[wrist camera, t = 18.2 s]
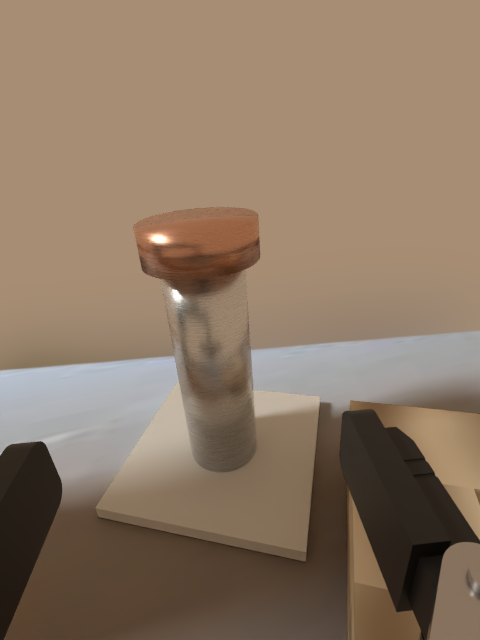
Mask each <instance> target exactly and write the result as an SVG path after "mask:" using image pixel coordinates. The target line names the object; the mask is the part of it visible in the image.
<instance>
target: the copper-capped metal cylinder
mask: <svg viewBox="0 0 480 640" xmlns="http://www.w3.org/2000/svg"><path fill="white" fill-rule="evenodd" d="M133 228H134V233H135V237H136V243H137V248H138V253H139V258H140V262H141V267H142V270H143V272H144V273H146V274H147V275H149V276H152V277H155V278H159V279H160V280H161V285H162V290H163V296H164V302H165V307H166V313H167V318H168V324H169V329H170V335H171V340H172V346H173V351H174V357H175V362H176V368H177V373H178V379H179V384H180V390H181V395H182V401H183V406H184V412H185V417H186V423H187V428H188V434H189V440H190V445H191V451H192V455H193V458H194V460H195V461H196V463H197V464H198V465H199V466H201V467H202V468H204V469H206V470H209V471H212V472H230V471H234V470H237V469H239V468H241V467H243V466H244V465H246V464H247V463H248V462H249V461H250V460H251V459H252V458H253V456H254V455H255V452H256V449H257V435H256V420H255V405H254V390H253V375H252V360H251V346H250V332H249V318H248V317H249V316H248V301H247V286H246V271H245V269H247V268H249V267H251V266H252V265H254V264H255V263H256V262H257V261H258V260H259V259H260V240H259V219H258V214H257V213H256V212H255V211H252V210H248V209H243V208H231V207H230V208H229V207H215V208H214V207H212V208H197V209H188V210H180V211H174V212H169V213H163V214H159V215H155V216H152V217H149V218H145V219H143V220H141V221H139V222H137V223H136V224H135V225H134V227H133Z"/></svg>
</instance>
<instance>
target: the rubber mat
mask: <svg viewBox="0 0 480 640" xmlns="http://www.w3.org/2000/svg"><path fill="white" fill-rule="evenodd" d="M254 405H255V420H256V435H257V449H256V452H255V455H254V456H253V458H252V459H251V460H250V461H249V462H248V463H247V464H246V465H244V466H243V467H241V468H239V469H237V470H234V471H230V472H212V471H209V470H206V469H204V468H202V467H201V466H199V465H198V464H197V463H196V461H195V460H194V458H193V455H192V451H191V445H190V440H189V434H188V428H187V423H186V417H185V412H184V406H183V401H182V395H181V390H180V384H179V382H177V383H176V385H175V386H174V388H173V389H172V391H171V392H170V394H169V395H168V397H167V398H166V400H165V401H164V403H163V404H162V406H161V408H160V409H159V411H158V412H157V414H156V415H155V417H154V418H153V420H152V421H151V423H150V424H149V426H148V427H147V429H146V431H145V432H144V434H143V435H142V437H141V438H140V440H139V441H138V443H137V444H136V446H135V447H134V449H133V450H132V452H131V454H130V455H129V457H128V458H127V460H126V461H125V463H124V464H123V466H122V467H121V469H120V470H119V472H118V473H117V475H116V477H115V478H114V480H113V481H112V483H111V484H110V486H109V487H108V489H107V490H106V492H105V493H104V495H103V496H102V498H101V499H100V501H99V503H98V504H97V506H96V507H95V510H96V512H97V515H98V517H101V518H105V519H110V520H115V521H119V522H124V523H129V524H133V525H138V526H142V527H147V528H152V529H156V530H161V531H166V532H170V533H175V534H179V535H184V536H189V537H193V538H198V539H203V540H207V541H212V542H216V543H221V544H226V545H230V546H235V547H240V548H244V549H249V550H253V551H258V552H263V553H267V554H272V555H277V556H281V557H286V558H291V559H295V560H300V561H304V562H306V554H307V542H308V531H309V520H310V509H311V497H312V486H313V475H314V464H315V453H316V441H317V430H318V419H319V408H320V397H317V396H307V395H298V394H288V393H278V392H268V391H259V390H254Z"/></svg>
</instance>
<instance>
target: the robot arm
mask: <svg viewBox="0 0 480 640" xmlns="http://www.w3.org/2000/svg"><path fill="white" fill-rule="evenodd" d="M340 462H341V467H342V471H343V475H344V478H345V480H346V483H347V485H348V488H349V490H350V493H351V496H352V498H353V501H354V503H355V506H356V509H357V511H358V514H359V516H360V519H361V522H362V524H363V527H364V529H365V532H366V534H367V537H368V540H369V542H370V545H371V547H372V550H373V553H374V555H375V558H376V560H377V563H378V565H379V568H380V571H381V573H382V576H383V578H384V581H385V584H386V586H387V589H388V591H389V594H390V597H391V599H392V602H393V604H394V607H395V609H396V612H403V611H412V610H413V613H414V615H415V617H416V620H417V622H418V625H419V627H420V629H421V630H420V633H419V639H418V640H480V540H479V538H478V537H477V536H476V534H475V533H474V531H473V530H472V528H471V527H470V525H469V524H468V522H467V521H466V519H465V517H464V516H463V514H462V513H461V511H460V510H459V508H458V507H457V505H456V504H455V502H454V501H453V499H452V498H451V496H450V495H449V493H448V492H447V490H446V489H445V487H444V486H443V484H442V483H441V481H440V480H439V478H438V477H436V476H435V472H434V471H433V469H432V468H431V466H430V465H429V463H428V462H426V460H425V457H424V455H423V454H422V452H421V451H420V449H419V448H418V446H417V445H416V443H415V442H414V440H412V439H411V438H410V437H409V436H407V435H406V434H405V433H404V432H402V431H401V430H400V429H399V428H397V427H387V428H385V427H384V425H383V424H382V422H381V420H380V419H379V417H378V415H377V414H376V412H375V411H374V410H373V409H363V410H354V411H345V412H344V413H343V416H342V428H341V441H340ZM61 497H62V483H61V479H60V477H59V475H58V472H57V470H56V468H55V465H54V463H53V461H52V458H51V456H50V454H49V451H48V449H47V447H46V445H45V444H44V443H43V442H41V441H40V442H29V443H20V444H11V445H9V446H8V447H6V449H5V450H4V451H3V453H2V454H1V456H0V640H4V638H5V635H6V633H7V630H8V628H9V625H10V623H11V621H12V618H13V616H14V613H15V611H16V609H17V606H18V604H19V601H20V599H21V597H22V594H23V592H24V589H25V587H26V585H27V582H28V580H29V577H30V575H31V573H32V570H33V568H34V565H35V563H36V561H37V558H38V556H39V553H40V551H41V548H42V546H43V544H44V541H45V539H46V536H47V534H48V532H49V529H50V527H51V524H52V522H53V520H54V517H55V515H56V512H57V510H58V508H59V505H60V502H61Z"/></svg>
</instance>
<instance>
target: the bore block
mask: <svg viewBox="0 0 480 640" xmlns="http://www.w3.org/2000/svg"><path fill="white" fill-rule="evenodd" d="M363 409H373V410H374V411H375V412H376V414H377V415H378V417H379V419H380V420H381V422H382V424H383V425H384V427H385V428H387V427H397V428H399V429H400V430H401V431H402V432H404V433H405V434H406V435H407V436H409V437H410V438H411V439H412V440H414V442H415V443H416V445H417V446H418V448H419V449H420V451H421V452H422V454H423V455H424V457H425V460H426V462H428V463H429V465H430V466H431V468H432V469H433V471H434V472H435V476H436V477H438V478H439V480H440V481H441V483H442V484H443V486H444V487H445V489H446V490H447V492H448V493H449V495H450V496H451V498H452V499H453V501H454V502H455V504H456V505H457V507H458V508H459V510H460V511H461V513H462V514H463V516H464V517H465V519H466V521H467V522H468V524H469V525H470V527H471V528H472V530H473V531H474V533H475V534H476V536H477V537H478V538H479V540H480V414H477V413H467V412H457V411H448V410H438V409H428V408H419V407H409V406H399V405H389V404H380V403H370V402H360V401H351V400H350V411H354V410H363ZM347 629H348V640H418V639H419V633H420V630H421V629H420V627H419V625H418V622H417V620H416V617H415V615H414V613H413V610H412V611H403V612H396V609H395V607H394V604H393V602H392V599H391V597H390V594H389V591H388V589H387V586H386V584H385V581H384V578H383V576H382V573H381V571H380V568H379V565H378V563H377V560H376V558H375V555H374V553H373V550H372V547H371V545H370V542H369V540H368V537H367V534H366V532H365V529H364V527H363V524H362V522H361V519H360V516H359V514H358V511H357V509H356V506H355V503H354V501H353V498H352V496H351V493H350V490H349V488H348V485H347Z"/></svg>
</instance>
